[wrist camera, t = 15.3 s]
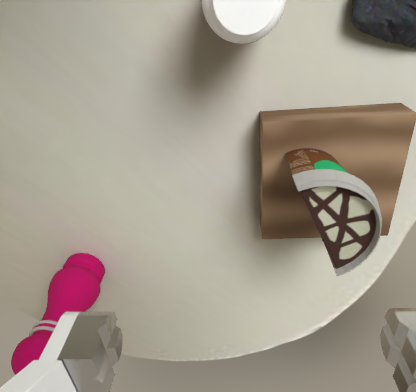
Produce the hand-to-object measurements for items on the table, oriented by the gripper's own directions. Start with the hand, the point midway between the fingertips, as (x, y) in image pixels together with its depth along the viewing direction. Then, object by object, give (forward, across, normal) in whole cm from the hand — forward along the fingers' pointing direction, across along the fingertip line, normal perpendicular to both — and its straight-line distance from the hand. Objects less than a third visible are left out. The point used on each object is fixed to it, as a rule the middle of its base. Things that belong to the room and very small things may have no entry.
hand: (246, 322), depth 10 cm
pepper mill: (+33, +25, +28) cm, 50 cm away
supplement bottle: (+33, -1, -8) cm, 34 cm away
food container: (+29, -10, +11) cm, 33 cm away
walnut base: (+33, -11, +12) cm, 37 cm away
